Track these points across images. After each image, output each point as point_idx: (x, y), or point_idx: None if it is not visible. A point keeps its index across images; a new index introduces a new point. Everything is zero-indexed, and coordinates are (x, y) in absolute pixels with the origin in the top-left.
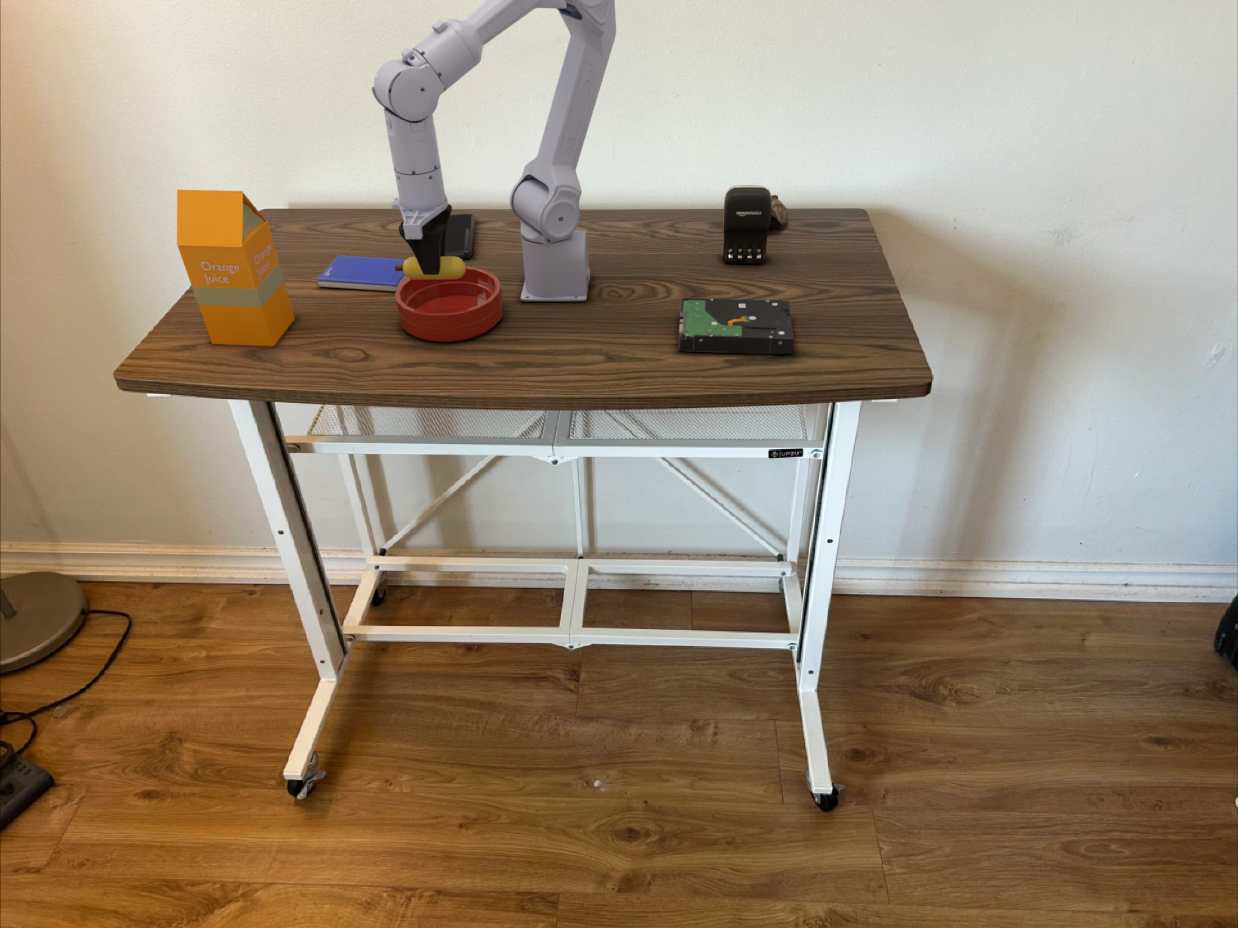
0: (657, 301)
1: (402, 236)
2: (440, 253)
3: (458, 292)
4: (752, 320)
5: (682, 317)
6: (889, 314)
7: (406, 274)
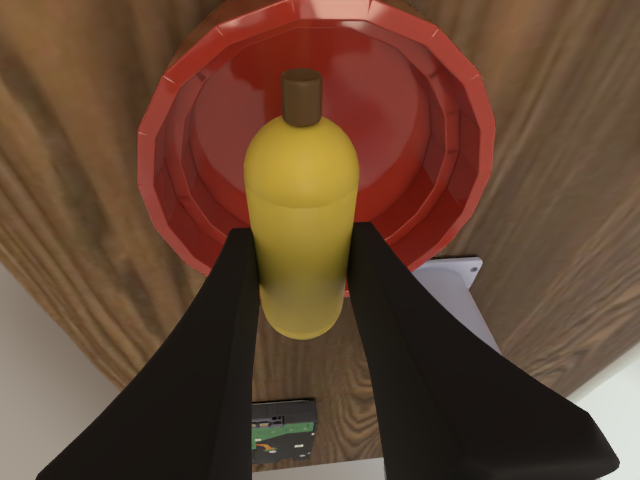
0: (352, 381)
1: (42, 473)
2: (354, 292)
3: (429, 151)
4: (267, 452)
5: (270, 425)
6: (312, 463)
7: (252, 139)
